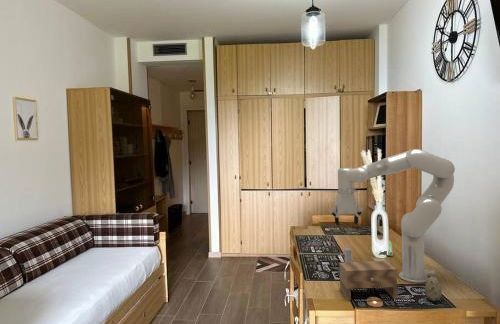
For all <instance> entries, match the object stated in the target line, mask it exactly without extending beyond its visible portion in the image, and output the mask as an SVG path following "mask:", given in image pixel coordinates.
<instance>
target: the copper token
mask: <svg viewBox="0 0 500 324" xmlns="http://www.w3.org/2000/svg"><path fill="white" fill-rule="evenodd" d="M383 302H384V301H383V299H381V298H379V297H376V296H369V297H367V298H366V304H367V305H368V306H369V307H374V308H381V307H383V305H384V303H383Z"/></svg>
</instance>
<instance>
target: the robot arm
mask: <svg viewBox="0 0 500 324" xmlns="http://www.w3.org/2000/svg"><path fill="white" fill-rule="evenodd" d="M411 169H417V170H419V171H422V172H424V173H427V174H430V175H432V176H433V178H432V181H431V183H430V184H429V185H428V187H427V188H426V189H425V191H423V193H422V194H421V195H420V196H419V197H418V199H417V201H416V202H415V207H414V209H413V210H412V211H410V212H407V213H405V214H403V215H402V218H401V220H400V226H401V227H400V228H401V254H402V255H401V262H402V263H401V264H402V265H401V266H402V271H400V272H398V277H399V278H400V279H402V280H403V281H405V282H409V283H415V284H423V283H426V282H427V280H428V279H429V275H435V274H436V271H435V270H434V269H431V270H430V269H429V268H425V236H424V235H425V233H426V232H427V231H428V230H429V229H430V228H431V226H432V225H433V224H434V223H435V222H436V221H437V220H438V218H439V217H440V215H441V213H442V209H443V208H442V204H443V202H444V201H445V199H446V198H447V197H448V196H449V195H450V193H451V191H452V189H453V188H454V185H455V174H454V173H455V171H456V167H455V165H454V163H453V162H452V161H451V160H449V159H447V158H445V157H444V158H443V157H440V156H439V155H435V154H432V153H429V152H427V151H425V150H423V149H419V148H413V149H410V150H407V151H404V152H400V153H397V154H393V155H391V156H388V157H385V158H384V157H383V158H382V159H380V160H377V161H374V162H371V163H368V164H364V165H362V166H358V167H355V168H352V167H340V168H338V169H337V186H338V187H337V189H338V191H337V194H336V197H335V205H334V206H332V207H331V208H329V212H330V215H332V216H333V217H334V224H335V225H336V226H340V220H339V219H340V218H339V216H340V215H351V214H353V215H354V216H353V222H354V223H353V224H355V226H357V225H359V217H360V215H362V213H363V211H364V208H363V207H361V206H360V205H358V204H357V199H356V194H355V192H357V189H356V188H354V183H359V184H360V183H365V182H367V180H370V179H372V178H373V179H374V178H377V177H381V176H385V175H386V176H387V175H389V176H390V175H394V174H397V173H401V172H403V171H408V170H411ZM358 209H359V210H358ZM334 211H335V212H334Z"/></svg>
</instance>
